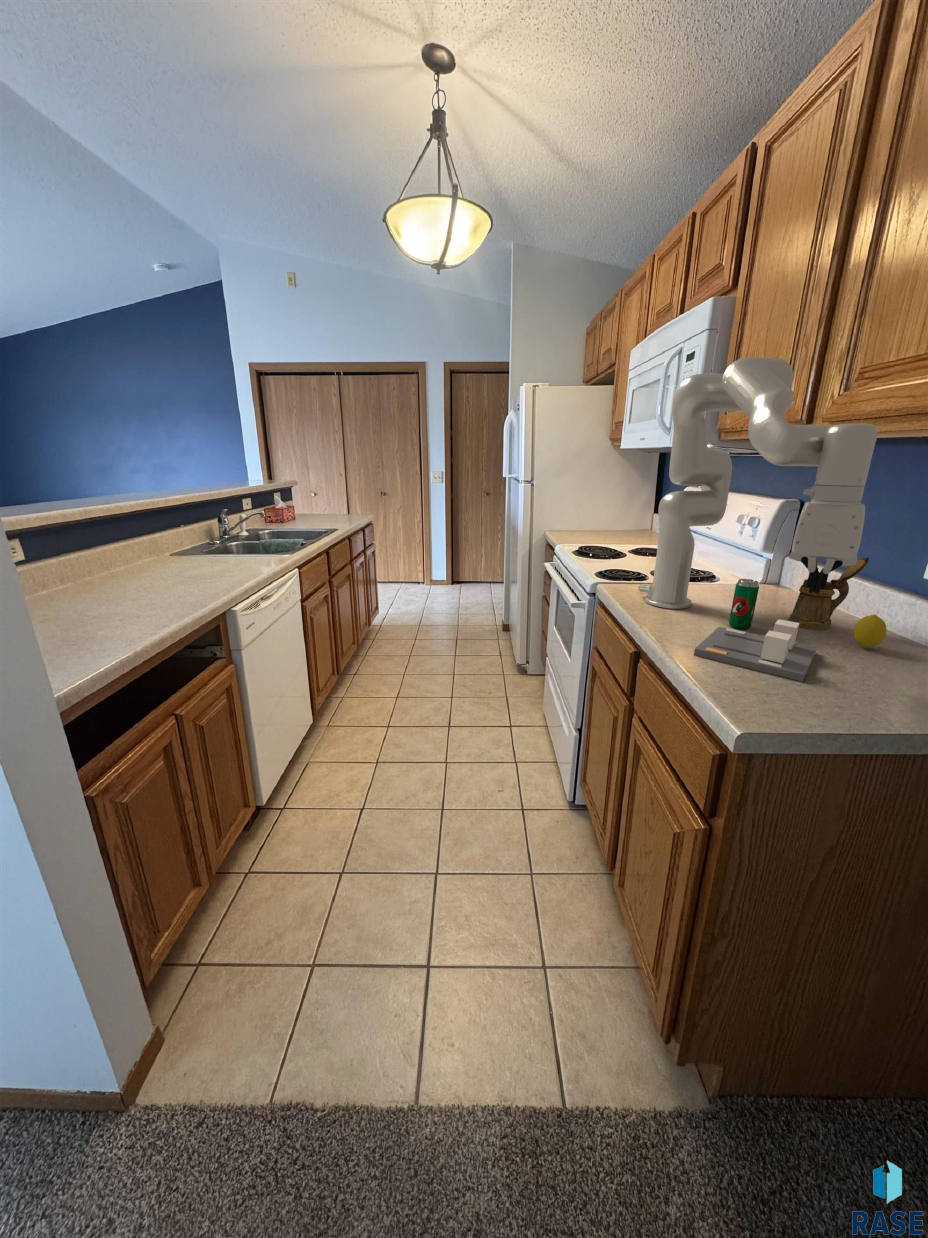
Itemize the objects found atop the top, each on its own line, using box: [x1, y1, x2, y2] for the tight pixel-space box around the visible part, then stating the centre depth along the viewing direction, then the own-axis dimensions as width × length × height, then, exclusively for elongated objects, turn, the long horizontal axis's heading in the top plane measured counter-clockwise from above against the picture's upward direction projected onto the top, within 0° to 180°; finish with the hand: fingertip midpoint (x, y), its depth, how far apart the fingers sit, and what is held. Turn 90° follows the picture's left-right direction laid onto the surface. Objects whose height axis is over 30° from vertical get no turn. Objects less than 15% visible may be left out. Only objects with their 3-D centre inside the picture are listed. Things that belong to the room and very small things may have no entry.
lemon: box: [853, 614, 887, 649], centre depth 110 cm, size 6×6×8 cm
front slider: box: [761, 630, 792, 664], centre depth 100 cm, size 4×4×5 cm
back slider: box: [772, 619, 800, 650], centre depth 107 cm, size 4×4×5 cm
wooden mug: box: [787, 557, 870, 631], centre depth 123 cm, size 9×14×18 cm, turn 69°
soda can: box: [728, 578, 760, 631], centre depth 123 cm, size 5×5×12 cm
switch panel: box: [693, 626, 818, 682], centre depth 107 cm, size 20×18×2 cm
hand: (814, 591), depth 97 cm, fingers closed
